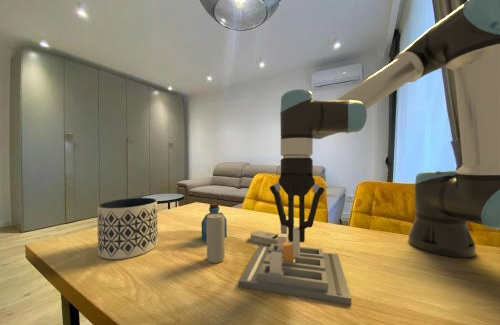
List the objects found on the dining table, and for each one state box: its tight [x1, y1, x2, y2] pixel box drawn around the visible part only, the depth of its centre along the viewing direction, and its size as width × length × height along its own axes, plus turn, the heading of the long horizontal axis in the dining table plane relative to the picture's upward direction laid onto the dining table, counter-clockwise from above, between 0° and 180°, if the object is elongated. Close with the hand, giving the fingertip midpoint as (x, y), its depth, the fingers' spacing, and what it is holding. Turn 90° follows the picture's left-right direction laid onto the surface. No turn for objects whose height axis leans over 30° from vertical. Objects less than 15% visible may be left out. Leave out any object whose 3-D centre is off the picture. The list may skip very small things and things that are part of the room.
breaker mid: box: [282, 242, 295, 263], centre depth 51 cm, size 3×2×5 cm
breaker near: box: [269, 251, 284, 275], centre depth 46 cm, size 3×2×5 cm
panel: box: [238, 244, 352, 306], centre depth 51 cm, size 22×19×3 cm
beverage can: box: [206, 213, 226, 264], centre depth 57 cm, size 5×5×12 cm
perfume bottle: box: [201, 202, 228, 243], centre depth 73 cm, size 6×6×12 cm
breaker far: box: [277, 232, 288, 251], centre depth 58 cm, size 3×2×5 cm
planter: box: [96, 197, 159, 260], centre depth 65 cm, size 16×16×14 cm
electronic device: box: [250, 224, 293, 247], centre depth 69 cm, size 5×10×15 cm
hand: (296, 254), depth 51 cm, fingers closed
